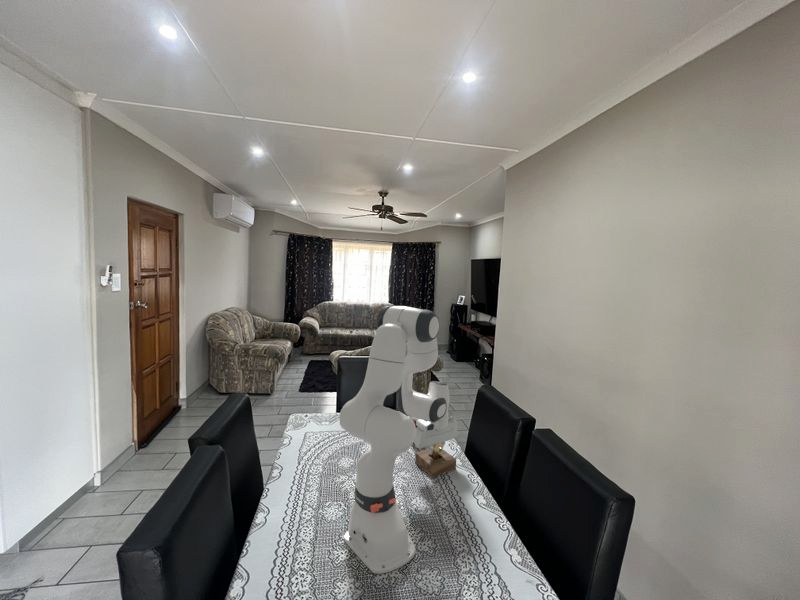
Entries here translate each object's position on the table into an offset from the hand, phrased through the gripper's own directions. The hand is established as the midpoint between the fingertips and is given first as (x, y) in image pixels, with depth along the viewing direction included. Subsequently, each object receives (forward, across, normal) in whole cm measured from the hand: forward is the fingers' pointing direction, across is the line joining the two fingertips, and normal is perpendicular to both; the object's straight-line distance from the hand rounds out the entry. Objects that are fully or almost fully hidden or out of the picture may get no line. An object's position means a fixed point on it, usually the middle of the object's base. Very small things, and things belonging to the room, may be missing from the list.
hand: (435, 452), depth 136 cm
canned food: (+6, -6, -22) cm, 24 cm away
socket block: (+6, 0, 0) cm, 6 cm away
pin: (+4, 0, 0) cm, 4 cm away
